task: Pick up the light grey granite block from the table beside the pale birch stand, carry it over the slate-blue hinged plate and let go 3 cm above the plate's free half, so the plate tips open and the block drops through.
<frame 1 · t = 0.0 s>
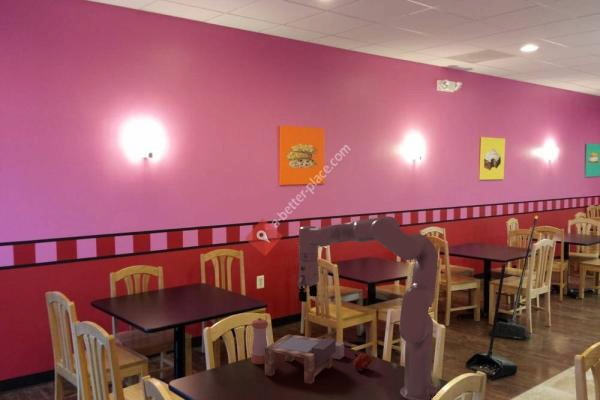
hand: (308, 298, 216), 31 cm above the table, tool pointing down, fingers open, 9 cm apart
trapdoor frame: (298, 370, 221), on the table
pepper shaker: (259, 361, 232), on the table
pomegranate: (363, 371, 222), on the table
trapdoor: (306, 346, 219), point 11 cm above the table, hinge at 0.0°
granite stone: (336, 356, 238), on the table
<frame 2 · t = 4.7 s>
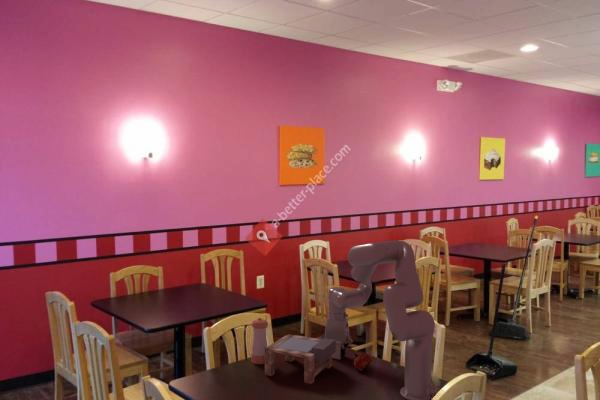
hand: (336, 355, 238), 1 cm above the table, tool pointing down, fingers closed on granite stone, 5 cm apart
granite stone: (336, 356, 238), on the table, touching gripper
everything else where it was.
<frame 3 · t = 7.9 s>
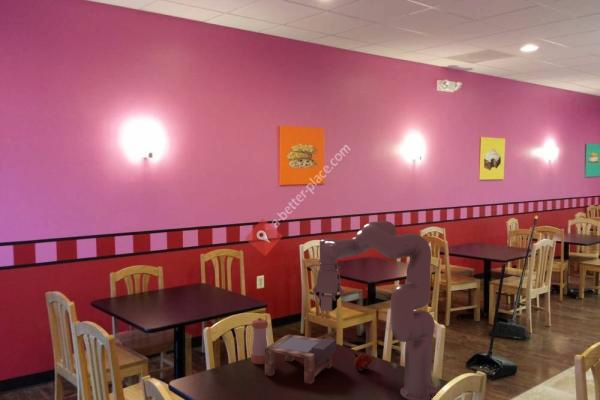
hand: (328, 307, 233), 23 cm above the table, tool pointing down, fingers closed on granite stone, 5 cm apart
granite stone: (328, 309, 233), point 22 cm above the table, touching gripper
everything else where it was.
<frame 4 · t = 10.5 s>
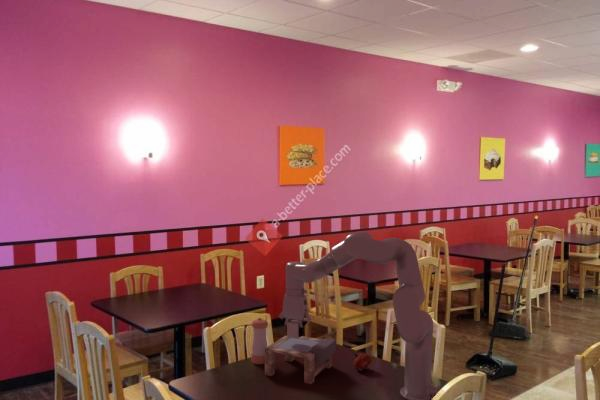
hand: (295, 334, 221), 15 cm above the table, tool pointing down, fingers closed on granite stone, 5 cm apart
granite stone: (295, 336, 221), point 14 cm above the table, touching gripper
everything else where it was.
when the fingers open (14 cm above the table, at t = 11.4 s): granite stone drops 8 cm and tips over, resting on trapdoor.
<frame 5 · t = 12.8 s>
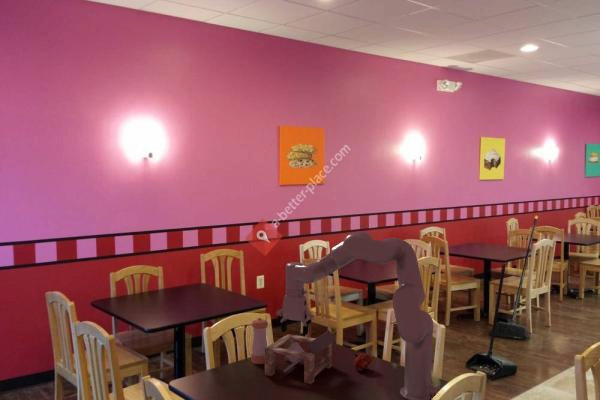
hand: (294, 333, 221), 16 cm above the table, tool pointing down, fingers open, 9 cm apart
trapdoor: (308, 352, 219), point 8 cm above the table, hinge at -41.1°, touching granite stone
granite stone: (299, 358, 221), point 5 cm above the table, tilted 43°, touching trapdoor
everything else where it was.
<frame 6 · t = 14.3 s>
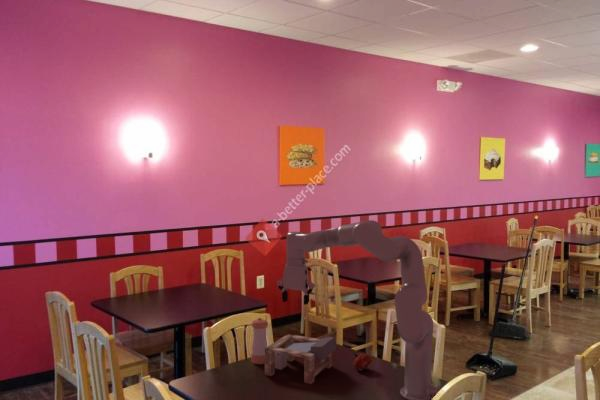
hand: (295, 302, 221), 28 cm above the table, tool pointing down, fingers open, 9 cm apart
trapdoor: (306, 348, 219), point 10 cm above the table, hinge at -10.0°
granite stone: (278, 353, 225), point 6 cm above the table, tilted 180°
everything else where it was.
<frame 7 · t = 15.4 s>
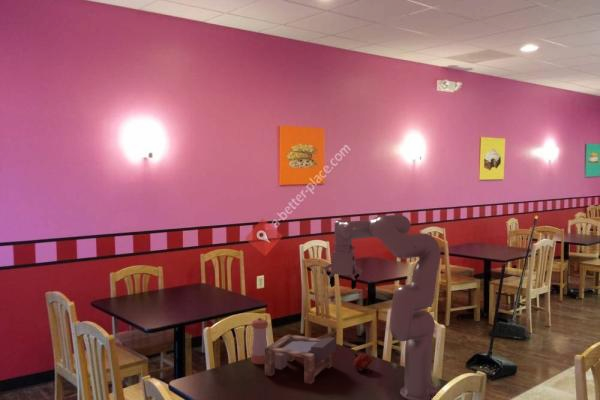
hand: (342, 287, 232), 32 cm above the table, tool pointing down, fingers open, 9 cm apart
trapdoor: (306, 347, 219), point 10 cm above the table, hinge at -6.4°
everything else where it was.
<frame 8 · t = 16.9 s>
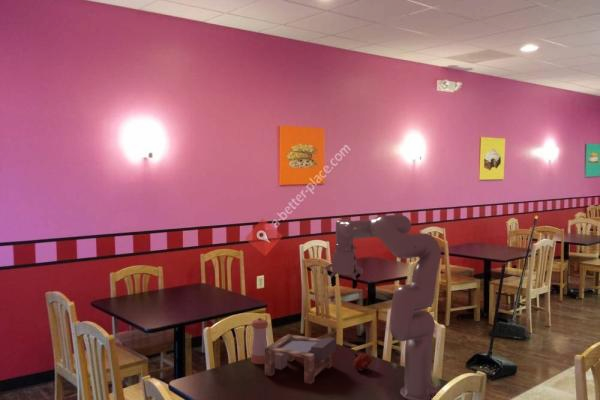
hand: (344, 287, 232), 32 cm above the table, tool pointing down, fingers open, 9 cm apart
trapdoor: (306, 347, 219), point 10 cm above the table, hinge at -5.8°
everything else where it was.
at the end: granite stone point 5.9 cm above the table; granite stone inside the target area on the trapdoor frame (3.5 cm from its centre), point 5.9 cm above the trapdoor frame's base; the gripper is holding nothing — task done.
